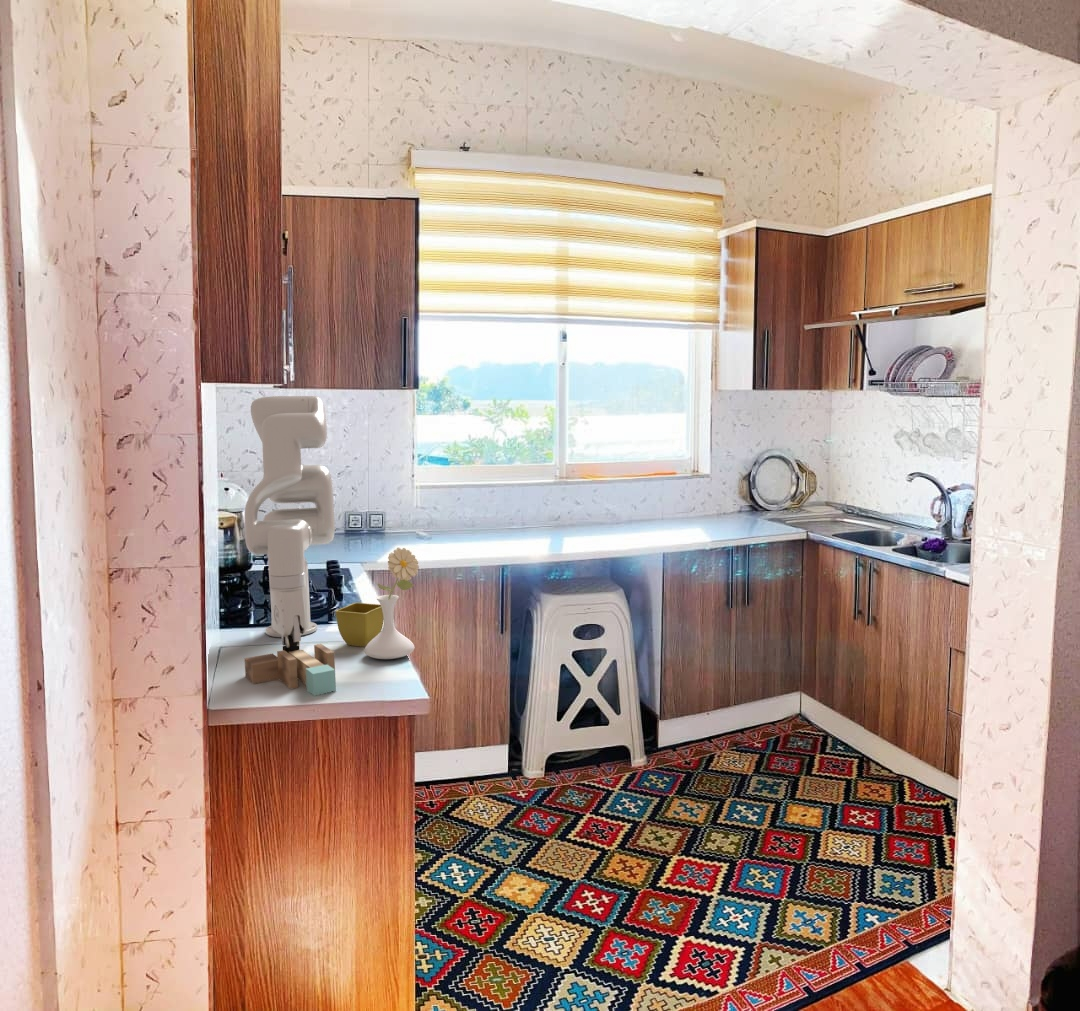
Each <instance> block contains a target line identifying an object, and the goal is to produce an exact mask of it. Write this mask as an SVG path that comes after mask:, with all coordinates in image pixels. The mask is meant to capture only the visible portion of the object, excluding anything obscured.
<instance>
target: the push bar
mask: <svg viewBox="0 0 1080 1011" xmlns="http://www.w3.org/2000/svg"><path fill="white" fill-rule="evenodd" d="M289 654H290V655H292V656H293V657H294V658H296V661H297V680H299V681H300V682H302V683H303V684H304V685H305V686H307V684H306V668H311V667H316V666H322V665H324V664H322V663H321V662H320V661H318V660H317V659H315V656H312V655H311V654H310V653H308V652H306V651H305V650H304V649H299V650H297V651H291V652H289Z"/></svg>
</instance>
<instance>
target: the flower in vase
mask: <svg viewBox="0 0 1080 1011" xmlns="http://www.w3.org/2000/svg"><path fill="white" fill-rule="evenodd" d="M387 559H388V560H387V564H388V570H389V571H390V573H391V574H393V576H394V578H396V580H395V583H394V585H393V586H392V588H391V587H389V586H385V585H382V584H380V583H377V587H378V588H379V589H380V590H385V591H389V594H384V595H379V596H377V597H376V600H377V601H378V602H379V603H378V604H380V605H381V607H382V611H383V619H384V620H383V627H382V630H381V632H380V633H379V634H378V635H377V636H376V637H375V638H373V639H372V640H371V641H370V642H369V643H368V644H367V646H365V647H364V653H365V654H366V656H367V657H370V658H374V659H376V660H377V659H378V660H393V659H400V658H403V657H406V656H408V655H410V654H412V653H413V652H414V651H415V649H416V648H415V645H414V643H413V642H412V641H411V640H410V639H409V638H408V637H406V636H405V635H403V634H402V633H401V632H399V631H398V630H397V629H396V627H395V624H394V623H395V621H394V613H395V612H394V610H395V606H396V603H397V601H398V600H399V598H400V597H399V595H395V594H392V593H393V592H394V590H395V588H396V587H398V588H399V589H400V590H401V591H408V590H409V589H412V588H413V587H414V584H413V583H412V582H411V581H410V580H411V579H412V577H413V578H414V577H416V575H418V574H419V571H418V569H419V568H420V566H419V565H418V564H419V561H418V558H416V556H415V555H414V554H412V551H411V550H410V549H406V548H405V547H403V548H400V547H396V549H393V552H390V553H389V554H388V557H387ZM399 579H400V580H399ZM398 580H399V581H398Z"/></svg>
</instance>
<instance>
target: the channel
mask: <svg viewBox="0 0 1080 1011" xmlns="http://www.w3.org/2000/svg"><path fill="white" fill-rule="evenodd" d="M313 647H314V650H313V651H314V658H315V659H317V660H318V661H320V662H321V663H322V664H324V665H329V666H330V667H332V668H333V669H335V670H336V662H335V660H336V659H335V652H334V651H333V650H331V649H330V648H329V647H326V646H325V645H324V644H322V643H318V644H314V645H313ZM276 654H277V655H276V656H277V658H278V677H279V679H278V680H279V681H280V682H282V683H283V684H284V685H285V686H286V687H287V688H289V689H292V690H293V689H297V688H299V685H298V683H299V682H298V680H299V679H298V678H297V661H296V658H294V657H293V656H292V655H290V654H289V653H287V652H286V651H285V650H283V649H282V650H278V651H277V652H276Z"/></svg>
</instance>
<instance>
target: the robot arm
mask: <svg viewBox="0 0 1080 1011" xmlns="http://www.w3.org/2000/svg"><path fill="white" fill-rule="evenodd" d="M250 404H251V405H250V416H251V419H252V423H253V426H254V429H255V430H256V433H257V434H258V436H259V438H260V440H261V443H262V444H261V445H262V467H263V477H262V479H261V480H260V482H259V483H258V484H257V485H256V486H255V487H254V488H253V490H252V491H251V493H250V494H249V496H248V498H247V501H246V504H245V507H244V539H245V544H246V545H245V546H246V548H247V550H248V551H249V552H250V553H251V554H253V555H258V556H259V555H262V556H263V555H267V562H268V563H267V564H268V577H269V578H268V579H269V580H268V581H269V583H268V584H269V593H270V594H269V595H270V610H271V614H270V616H271V625H269V626H267V627H266V628H265V634H266V635H267V636H269V637H275V638H281V643H282V650H285V651H286V652H287V653H289V652H291V651H297V650H300V642H301V641H302V636H305V635H306V636H307V635H309V634H312V633H314V632H316V631H317V630H318V624H317V623H315V622H312V621H311V608H310V607H311V606H310V604H311V603H310V584H309V565H308V562H307V559H306V558H305V551H307V550H308V548H309V547H310V546H317V545H328V544H329V543H331V542H332V541H333V540H334V539H335V538H334V537H335V534H336V533H335V532H336V531H335V530H336V526H335V524H336V523H335V509H334V508H335V507H334V505H335V504H334V493H333V492H334V491H333V482H332V481H333V480H332V476H331V473H330V470H329V469H328V468H327V467H326V466H324V465H320V464H307V465H306V464H302V457H301V456H302V455H301V454H302V453H301V449H302V450H303V449H304V450H305V449H320V448H322V447H324V446H325V444H326V441H327V435H328V428H327V419H326V408H325V404H324V402H323V400H322V399H321V398H320V397H317V396H315V395H292V396H290V395H273V396H272V395H269V396H263V397H258V398H256V399H254V400H253V401H252V402H251V403H250ZM268 499H269V500H271V502H272V503H276V504H303V503H305V504H306V503H308V504H309V503H311V504H314V505H315V507H305V508H304V507H303V508H302V507H301V508H300V507H298V508H297V507H296V508H282V509H281V508H280V509H275V510H271V511H270V512H268V513H267V514H265V516H264V518H263V520H258V512H259V509H260V507H261V505H262V504H263V503H264V502H265V501H266V500H268Z"/></svg>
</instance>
